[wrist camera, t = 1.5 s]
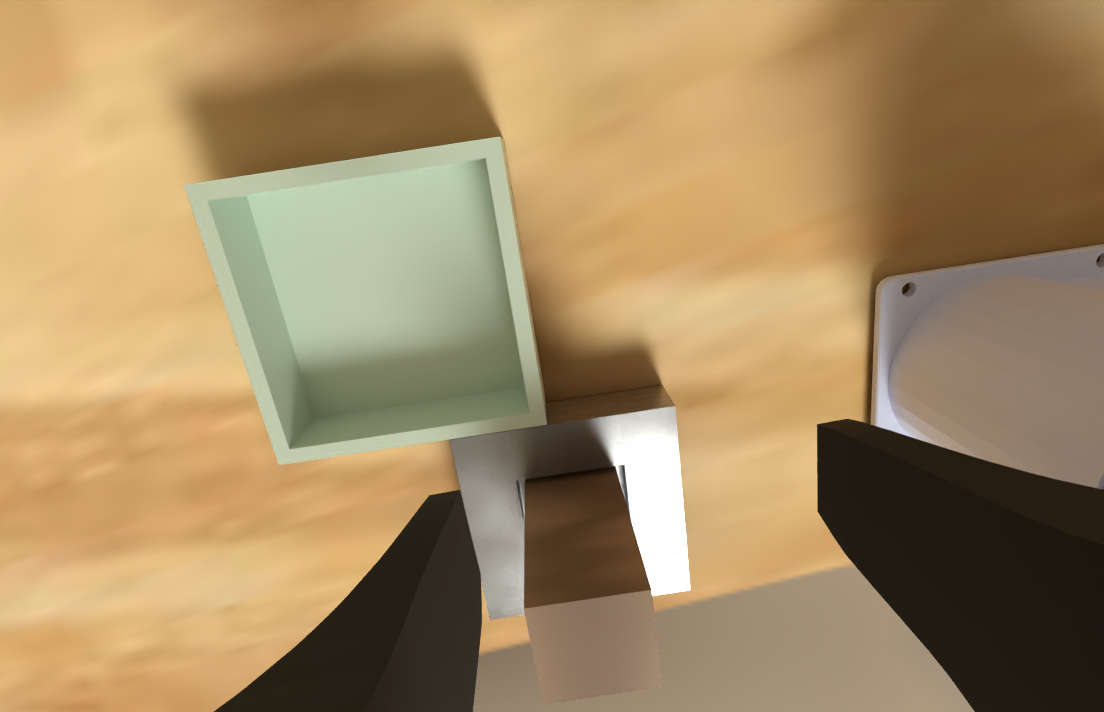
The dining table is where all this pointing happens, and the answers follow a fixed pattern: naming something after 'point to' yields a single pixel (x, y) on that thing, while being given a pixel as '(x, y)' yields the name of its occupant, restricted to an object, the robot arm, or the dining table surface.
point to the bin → (377, 298)
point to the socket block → (570, 446)
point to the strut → (586, 589)
